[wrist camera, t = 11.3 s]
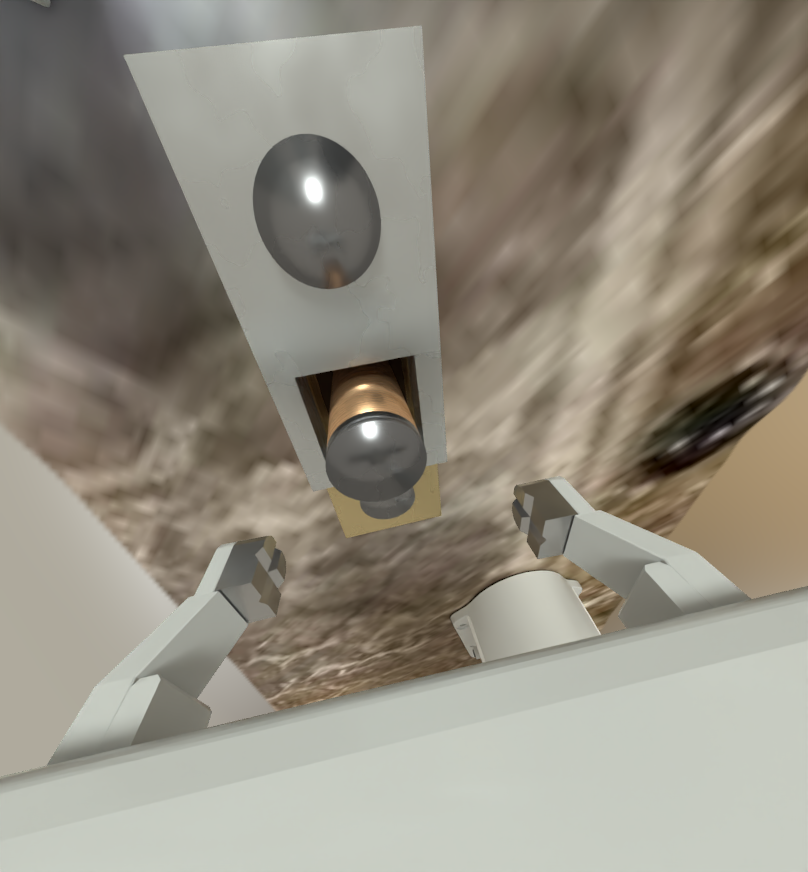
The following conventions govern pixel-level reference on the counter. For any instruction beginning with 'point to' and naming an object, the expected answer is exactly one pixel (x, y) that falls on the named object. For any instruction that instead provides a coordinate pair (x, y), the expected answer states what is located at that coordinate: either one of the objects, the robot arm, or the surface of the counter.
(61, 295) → the counter surface
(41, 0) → the skincare box
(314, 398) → the chain joint
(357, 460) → the pin
